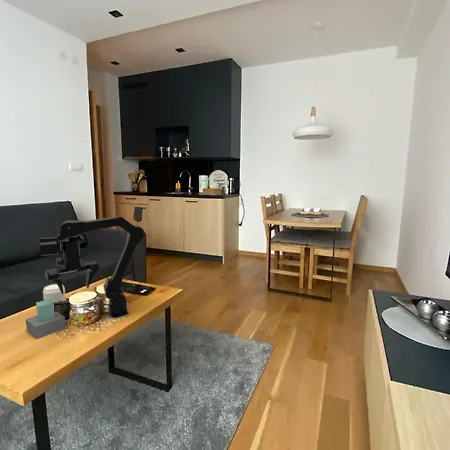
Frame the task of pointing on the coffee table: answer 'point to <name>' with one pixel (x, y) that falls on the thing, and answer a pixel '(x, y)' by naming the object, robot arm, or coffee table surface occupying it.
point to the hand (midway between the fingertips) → (75, 290)
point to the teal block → (45, 310)
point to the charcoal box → (45, 325)
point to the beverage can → (54, 293)
